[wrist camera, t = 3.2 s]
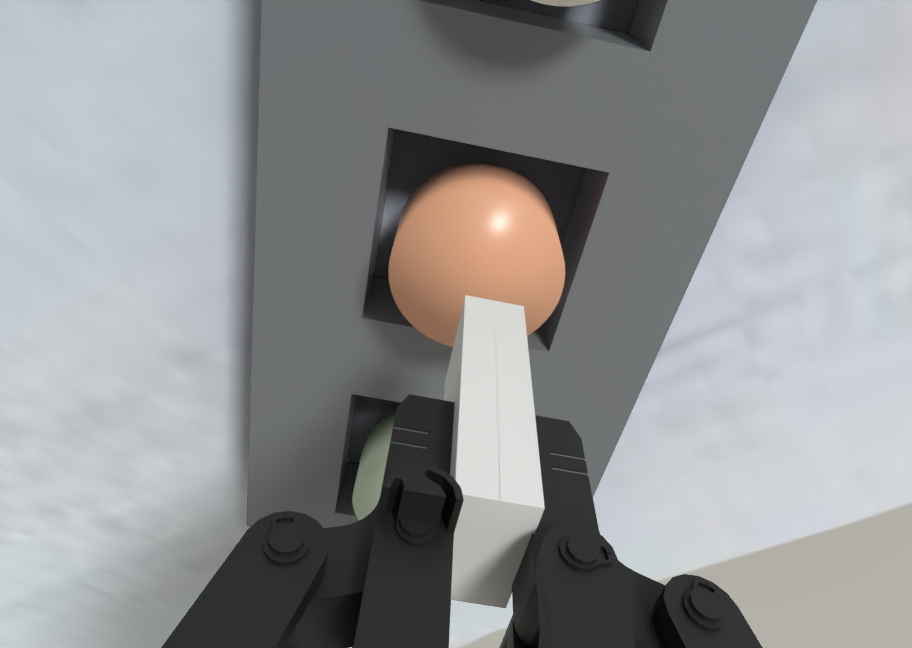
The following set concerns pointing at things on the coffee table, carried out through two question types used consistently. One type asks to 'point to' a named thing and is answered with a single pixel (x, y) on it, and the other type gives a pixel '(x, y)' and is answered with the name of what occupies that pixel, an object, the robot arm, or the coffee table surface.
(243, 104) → the coffee table surface
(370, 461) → the button sage
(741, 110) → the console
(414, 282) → the button terracotta
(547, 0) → the button ivory
